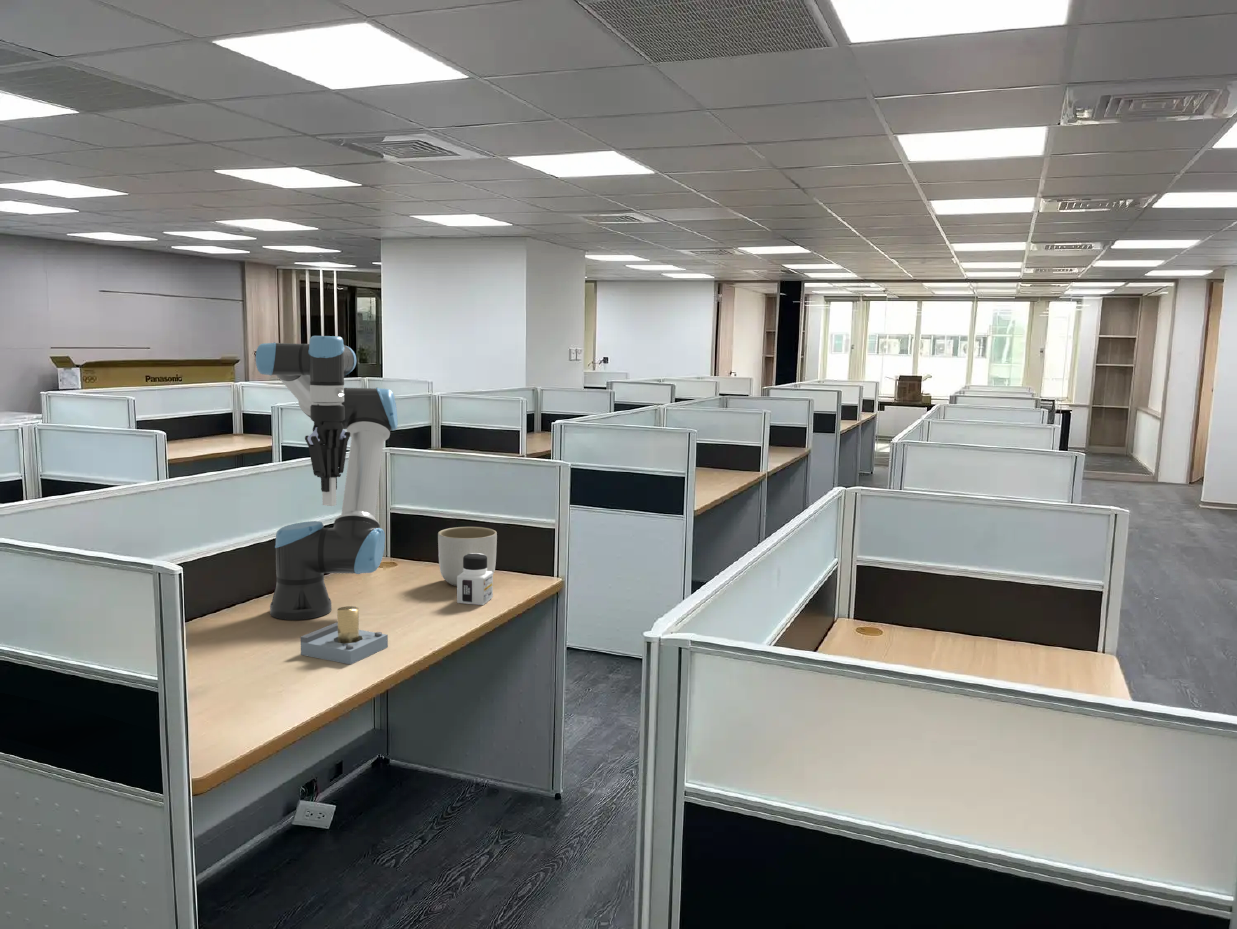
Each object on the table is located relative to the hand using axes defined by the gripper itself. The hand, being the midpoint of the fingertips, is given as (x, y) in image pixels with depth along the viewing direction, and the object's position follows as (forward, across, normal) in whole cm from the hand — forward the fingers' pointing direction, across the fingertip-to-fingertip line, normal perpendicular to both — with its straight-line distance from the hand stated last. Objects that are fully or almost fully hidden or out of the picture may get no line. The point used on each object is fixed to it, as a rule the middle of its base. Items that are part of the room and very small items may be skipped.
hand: (329, 505), depth 215 cm
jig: (+32, -5, -8) cm, 34 cm away
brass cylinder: (+32, -5, -9) cm, 34 cm away
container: (+33, +44, -12) cm, 56 cm away
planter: (+33, +59, 0) cm, 67 cm away
